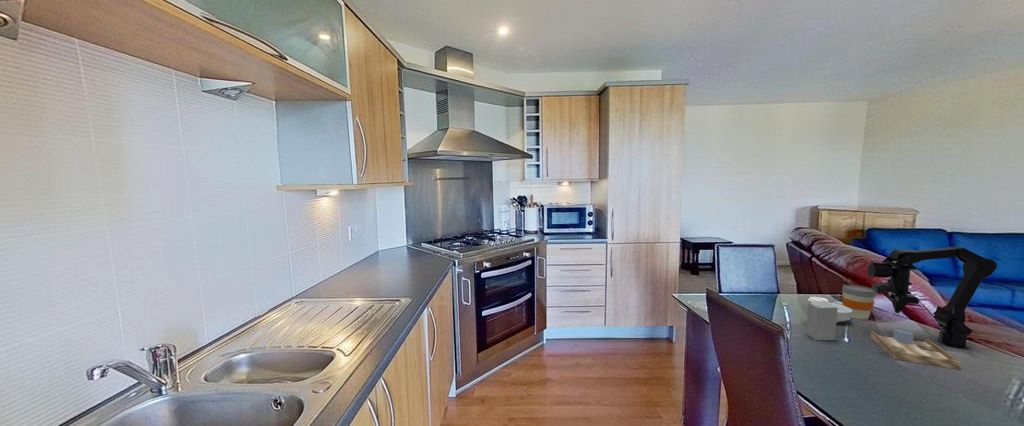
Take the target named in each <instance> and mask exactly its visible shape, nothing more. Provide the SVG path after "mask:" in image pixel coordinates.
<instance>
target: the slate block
mask: <svg viewBox="0 0 1024 426" xmlns="http://www.w3.org/2000/svg"><path fill="white" fill-rule="evenodd" d="M892 333H893V334H892V338H893V339H895V340H896V341H897V342H899V343H906V344H913V341H914V335H915V334H914V333H913V332H912V331H910V330H907V329H902V328H901V329H900V328H894V327H893V332H892Z"/></svg>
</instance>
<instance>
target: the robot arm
mask: <svg viewBox="0 0 1024 426" xmlns="http://www.w3.org/2000/svg"><path fill="white" fill-rule="evenodd" d="M953 258H956V259H957V260H958V261H960V262H962V271H963V275H962V277H961V279H960V280H959V282H958V285H957V286H956V288H955V290H954V292H953V294H952V295H951V297H950V300H948V303H947V304H946V305H944V306H940V305H937V307H936V310H935V311H934V312H933V313H932V315H934V316H933V319H934V321H935V322H936V323H937V324H938V325H937V326H938V327H941V329H940V330H941V331H939V333H938V338H937V341H939V342H940V343H942V344H943V345H944V346H946V347H947V346H948V347H954V348H961V349H967V350H968V349H969V346H967V337H968V336H970V335H971V334H972V332H973V330H972V329H970V327H968V326H967V325H966V324H965V323H966V320H967V316H966V309H967V307H968V305H969V304H970V302H971V301H972V298H973V296H974V295H975V293H976V291H977V290H978V288H979V286H980V285H981V283H982V281H983V280H985V279H986V278H988V277H990V276H991V275H992V274H993V273H995V271H996V270H997V268H998V264H997V262H996V261H995V260H994V259H992V258H988V257H987V258H986V257H983V256H981V255H979V254H977V253H975V252H972V251H971V250H969V249H967V248H965V247H963V246H962V247H961V246H955V245H954V246H951V247H941V248H931V249H921V250H913V249H893V250H891V252H890V253H889V254H888V256H887V257H886V258H884V259H883V260H882V261H881V262H877V261H871V262H870V263H869V265H868V267H866V272H867V275H868V276H869V277H870V278H887V281H886V282H885V281H884V282H878V283H873V284H871V289H873V290H874V292H875V294H878V295H879V294H883V293H888V294H885V295H886V297H888V299H890V301H891V303H892V306H893V311H894V312H895V314H900V313H901V312H902V310H903V309H904V308H905V307H906V306H907V305H908V304H913V305H919V304H920V299H919V298H918V297H917V296H915V295H913V294H912V292H911V291H910V290H909V289H910V286H912V282H910V279H911V270H912V271H918V267H916V266H914V264H917V263H920V262H922V261H927V260H928V261H929V260H930V261H931V260H940V259H953Z"/></svg>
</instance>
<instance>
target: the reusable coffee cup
mask: <svg viewBox="0 0 1024 426" xmlns="http://www.w3.org/2000/svg"><path fill="white" fill-rule="evenodd" d="M841 292H842V296H841V301H842V306H846V307H848V308H850V309H851V310H852V311H853V312H852V316H851V318H852V319H858V320H869V318H870V315H871V311H872V310H873V307H874V305H875V297H876V292H874V290H873V288H872V287H867V286H863V285H855V284H844V285H842V288H841Z"/></svg>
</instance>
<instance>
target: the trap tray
mask: <svg viewBox="0 0 1024 426" xmlns="http://www.w3.org/2000/svg"><path fill="white" fill-rule="evenodd" d="M870 338H871V340H872V341H874V342H875V343H876V344H877V345H878V346H879V347H880V348H881V349H882V350H883V351H884V352H885V353H886V354H888V355H889V356H890V357H891V358H892V359H893V360H898V361H906V362H910V363H918V364H924V365H929V366H936V367H941V368H942V367H943V368H947V369H954V370H961V361H960V360H959V359H957V358H956V357H954V355H951V354H950V353H949V352H948V351H945V350H944V349H943V348H942V347H940V346H939V345H937V344H936V343H934V342H933V341H931V340H930V339H929V338H925V339H924V341H920V340H919V341H918V340H913V344H906V343H899V342H897V341H896V340H895V339H893V336H892V337H891V336H883V335H879V334H877V332H875V331H874V330H873V331H870Z"/></svg>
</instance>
